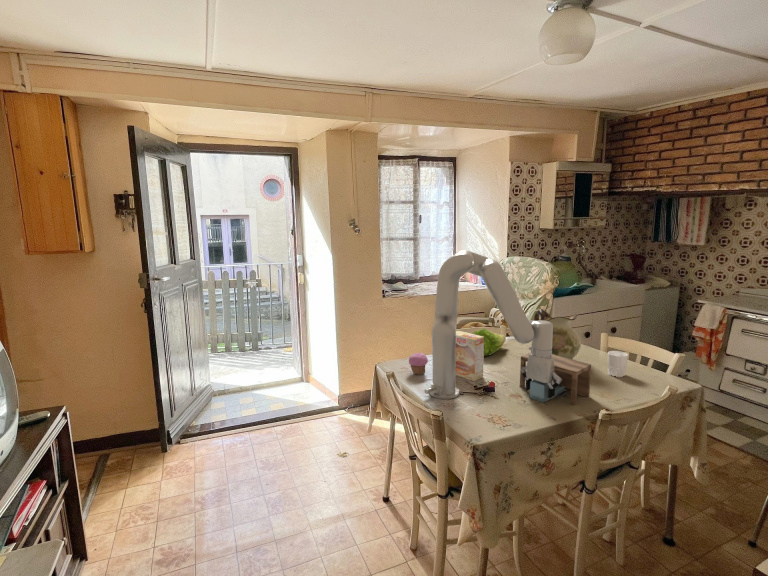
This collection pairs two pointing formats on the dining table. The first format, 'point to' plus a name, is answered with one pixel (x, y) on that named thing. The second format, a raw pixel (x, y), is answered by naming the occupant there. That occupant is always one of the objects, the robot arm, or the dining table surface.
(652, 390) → the dining table surface
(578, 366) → the shelf
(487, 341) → the lettuce
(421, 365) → the cupcake
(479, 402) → the dining table surface
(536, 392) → the light blue channel block
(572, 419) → the dining table surface
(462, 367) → the coffeecake box
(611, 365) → the white cup
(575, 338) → the pitcher
